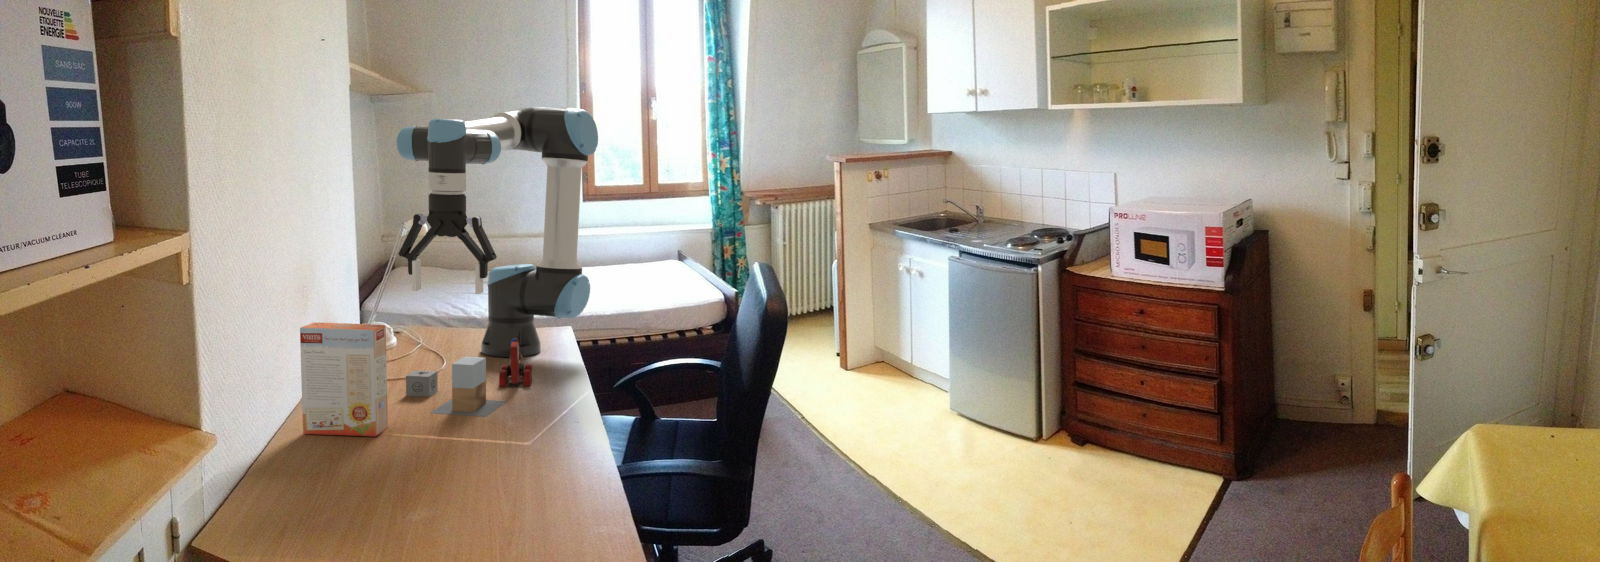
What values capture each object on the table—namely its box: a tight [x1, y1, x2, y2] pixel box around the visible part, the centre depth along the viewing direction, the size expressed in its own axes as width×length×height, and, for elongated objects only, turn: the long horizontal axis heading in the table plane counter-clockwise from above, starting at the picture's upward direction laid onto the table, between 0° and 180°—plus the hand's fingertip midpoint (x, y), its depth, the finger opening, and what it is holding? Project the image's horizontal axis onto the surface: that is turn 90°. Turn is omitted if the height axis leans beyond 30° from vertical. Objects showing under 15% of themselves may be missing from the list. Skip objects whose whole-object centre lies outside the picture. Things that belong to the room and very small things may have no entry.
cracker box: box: [299, 322, 389, 438], centre depth 187 cm, size 14×6×21 cm, turn 90°
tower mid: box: [451, 356, 487, 389], centre depth 206 cm, size 7×4×5 cm, turn 176°
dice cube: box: [405, 370, 439, 398], centre depth 215 cm, size 5×5×5 cm
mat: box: [429, 398, 508, 418], centre depth 207 cm, size 12×12×1 cm
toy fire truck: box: [498, 338, 533, 388], centre depth 228 cm, size 7×12×10 cm, turn 13°
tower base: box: [451, 380, 487, 412], centre depth 207 cm, size 7×4×5 cm, turn 176°
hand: (448, 291), depth 211 cm, fingers open, 13 cm apart
